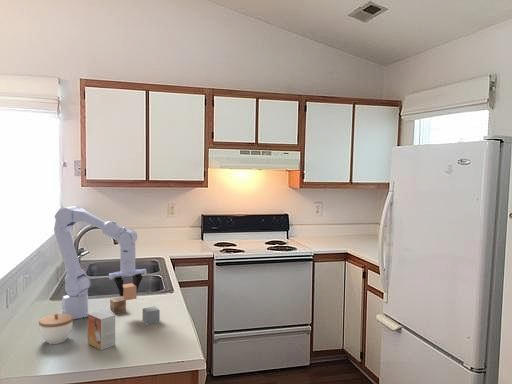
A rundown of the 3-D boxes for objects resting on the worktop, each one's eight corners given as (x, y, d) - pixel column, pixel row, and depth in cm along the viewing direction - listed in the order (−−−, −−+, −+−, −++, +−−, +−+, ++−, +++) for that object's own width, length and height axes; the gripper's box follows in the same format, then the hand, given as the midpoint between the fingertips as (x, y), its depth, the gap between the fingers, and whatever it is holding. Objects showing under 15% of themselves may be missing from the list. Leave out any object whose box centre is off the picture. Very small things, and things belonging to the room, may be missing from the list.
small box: (87, 344, 147) (87, 313, 147) (102, 339, 152) (102, 309, 151) (100, 350, 142) (100, 319, 142) (115, 345, 147) (115, 314, 146)
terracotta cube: (123, 300, 169) (123, 288, 169) (119, 297, 173) (119, 285, 173) (136, 298, 172) (136, 286, 172) (132, 295, 176) (132, 283, 176)
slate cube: (147, 325, 166) (147, 312, 166) (142, 321, 170) (142, 308, 170) (159, 322, 169) (159, 309, 168) (154, 318, 173) (154, 306, 172)
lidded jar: (63, 332, 158) (63, 306, 157) (79, 339, 151) (78, 313, 150) (33, 341, 149) (33, 314, 149) (48, 349, 143) (47, 321, 142)
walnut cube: (113, 314, 178) (113, 302, 177) (110, 310, 182) (110, 298, 181) (125, 311, 180) (125, 300, 180) (122, 308, 184) (122, 297, 184)
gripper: (112, 264, 165) (112, 300, 165) (149, 260, 173) (149, 294, 174) (107, 261, 170) (107, 295, 171) (143, 257, 179) (143, 289, 179)
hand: (128, 294), depth 173 cm, fingers closed on terracotta cube, 5 cm apart
